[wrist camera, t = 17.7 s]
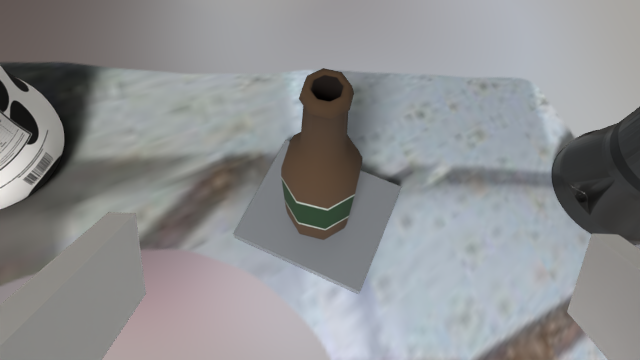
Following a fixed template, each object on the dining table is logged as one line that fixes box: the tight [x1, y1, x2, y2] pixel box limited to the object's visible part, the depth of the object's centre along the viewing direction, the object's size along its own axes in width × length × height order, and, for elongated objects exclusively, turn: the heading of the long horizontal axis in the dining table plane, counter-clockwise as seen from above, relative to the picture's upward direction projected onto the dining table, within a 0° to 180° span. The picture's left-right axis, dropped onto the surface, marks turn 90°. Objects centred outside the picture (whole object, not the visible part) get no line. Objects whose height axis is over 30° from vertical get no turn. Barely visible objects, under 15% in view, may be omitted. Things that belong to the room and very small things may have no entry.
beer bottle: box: [281, 68, 362, 240], centre depth 38 cm, size 8×8×24 cm
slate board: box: [233, 140, 401, 294], centre depth 49 cm, size 16×14×2 cm
